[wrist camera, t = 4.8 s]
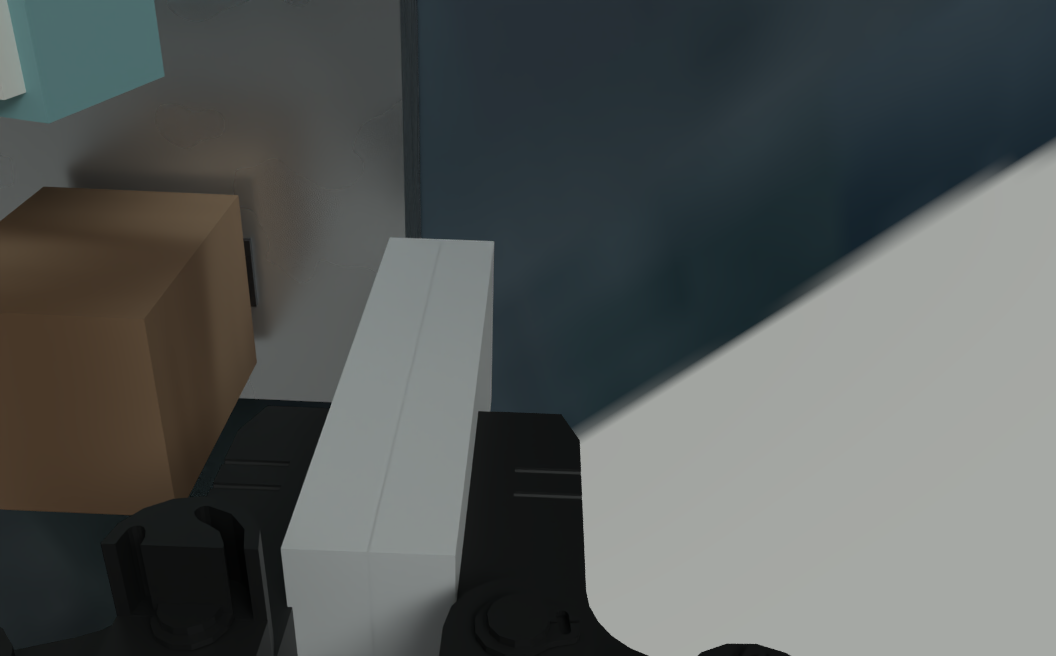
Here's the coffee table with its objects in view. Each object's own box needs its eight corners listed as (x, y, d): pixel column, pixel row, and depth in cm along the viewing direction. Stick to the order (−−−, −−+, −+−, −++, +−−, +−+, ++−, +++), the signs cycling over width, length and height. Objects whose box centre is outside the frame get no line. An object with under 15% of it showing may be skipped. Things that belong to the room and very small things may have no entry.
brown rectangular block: (79, 354, 17) (-48, 506, 13) (43, 186, 15) (-109, 308, 12) (257, 362, 17) (177, 517, 13) (238, 195, 15) (143, 319, 12)
